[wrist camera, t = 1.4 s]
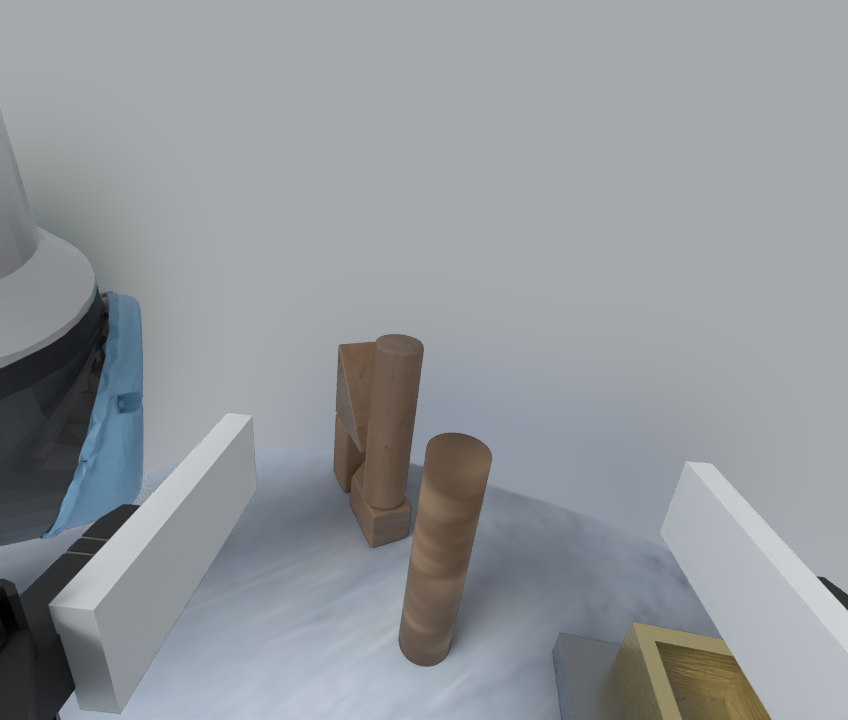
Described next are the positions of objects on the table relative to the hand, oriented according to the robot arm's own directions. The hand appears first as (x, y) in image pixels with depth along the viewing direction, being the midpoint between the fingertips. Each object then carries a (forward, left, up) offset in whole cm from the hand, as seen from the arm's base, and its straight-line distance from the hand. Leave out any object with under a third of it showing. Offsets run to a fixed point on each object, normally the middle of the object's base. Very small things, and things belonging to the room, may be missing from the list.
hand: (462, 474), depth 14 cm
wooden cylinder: (0, +9, -22) cm, 24 cm away
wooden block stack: (-7, +21, -22) cm, 31 cm away
